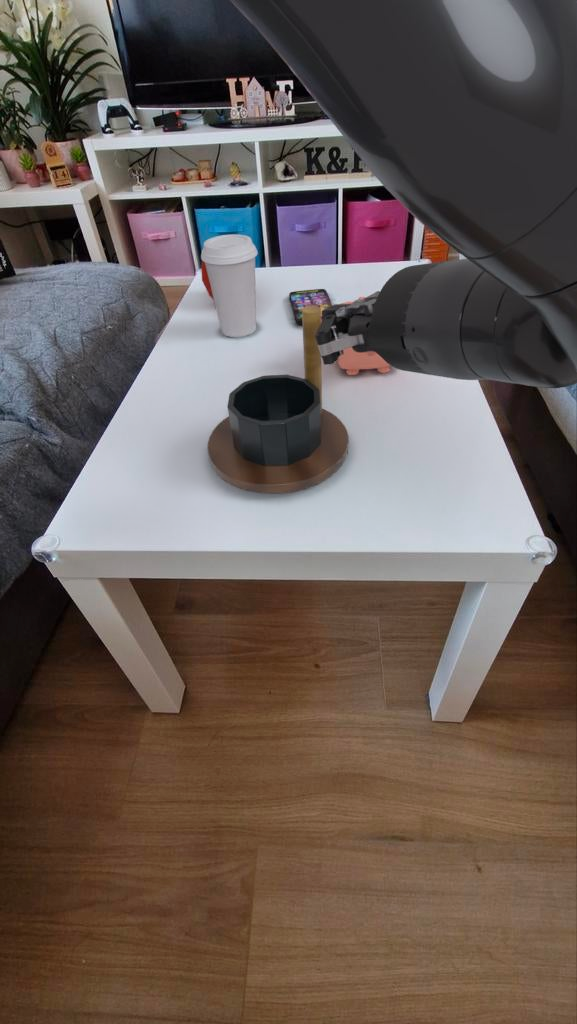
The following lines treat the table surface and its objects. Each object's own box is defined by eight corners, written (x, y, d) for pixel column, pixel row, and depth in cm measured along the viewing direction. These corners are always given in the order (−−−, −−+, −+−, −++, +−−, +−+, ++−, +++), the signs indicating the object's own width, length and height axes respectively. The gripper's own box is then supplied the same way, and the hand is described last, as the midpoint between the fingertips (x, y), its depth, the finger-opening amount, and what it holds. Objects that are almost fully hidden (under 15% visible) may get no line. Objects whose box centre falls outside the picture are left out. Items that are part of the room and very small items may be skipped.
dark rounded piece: (246, 514, 55) (226, 393, 45) (188, 436, 67) (162, 325, 56) (376, 459, 61) (386, 340, 50) (302, 396, 73) (297, 288, 62)
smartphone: (295, 322, 90) (287, 291, 101) (296, 327, 91) (288, 296, 102) (338, 317, 91) (325, 288, 101) (338, 322, 91) (325, 292, 102)
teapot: (368, 337, 86) (371, 277, 79) (423, 359, 80) (432, 295, 73) (308, 367, 80) (306, 304, 73) (362, 393, 73) (366, 327, 66)
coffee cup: (204, 337, 90) (188, 248, 80) (227, 316, 96) (215, 231, 86) (251, 343, 87) (240, 252, 77) (272, 321, 94) (265, 234, 83)
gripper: (517, 226, 34) (373, 253, 48) (360, 304, 31) (258, 307, 45) (528, 333, 37) (392, 328, 52) (389, 412, 34) (286, 383, 49)
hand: (329, 318), depth 49 cm, fingers closed
